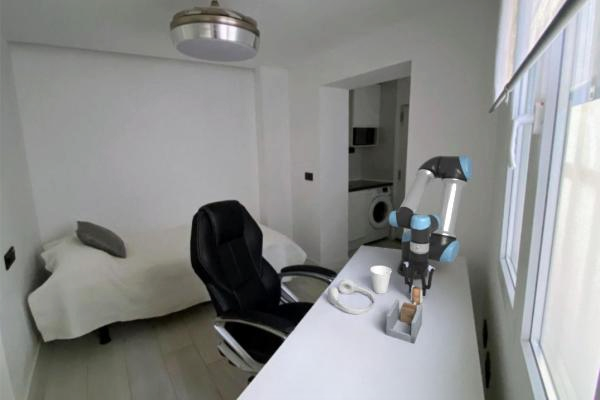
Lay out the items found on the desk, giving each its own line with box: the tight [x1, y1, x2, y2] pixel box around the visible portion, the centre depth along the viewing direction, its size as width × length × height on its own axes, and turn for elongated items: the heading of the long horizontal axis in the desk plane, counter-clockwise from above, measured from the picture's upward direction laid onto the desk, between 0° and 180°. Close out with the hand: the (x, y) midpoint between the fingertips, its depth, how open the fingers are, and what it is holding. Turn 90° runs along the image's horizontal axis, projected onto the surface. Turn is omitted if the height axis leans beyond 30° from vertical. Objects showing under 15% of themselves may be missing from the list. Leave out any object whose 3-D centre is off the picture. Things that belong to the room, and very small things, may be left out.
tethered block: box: [400, 286, 421, 326], centre depth 125 cm, size 19×5×7 cm, turn 148°
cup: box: [369, 265, 392, 295], centre depth 142 cm, size 10×10×11 cm
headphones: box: [327, 278, 375, 315], centre depth 134 cm, size 7×18×20 cm
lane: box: [385, 299, 423, 344], centre depth 113 cm, size 13×10×8 cm
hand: (416, 300), depth 133 cm, fingers closed on tethered block, 3 cm apart
